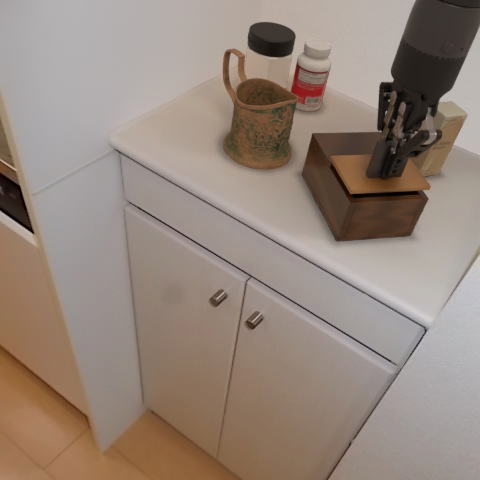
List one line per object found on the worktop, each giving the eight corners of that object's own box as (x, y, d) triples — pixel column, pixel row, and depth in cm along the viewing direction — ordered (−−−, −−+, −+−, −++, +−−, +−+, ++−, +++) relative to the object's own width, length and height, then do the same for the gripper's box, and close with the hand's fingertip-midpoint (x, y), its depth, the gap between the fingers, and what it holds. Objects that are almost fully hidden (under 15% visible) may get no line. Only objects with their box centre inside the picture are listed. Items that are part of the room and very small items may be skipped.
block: (371, 206, 80) (380, 184, 77) (382, 223, 77) (391, 201, 74) (347, 207, 79) (355, 185, 76) (357, 225, 76) (366, 203, 73)
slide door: (404, 156, 77) (419, 121, 73) (429, 190, 72) (446, 154, 68) (329, 159, 74) (340, 122, 70) (350, 194, 69) (363, 157, 65)
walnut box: (368, 172, 87) (383, 131, 82) (410, 235, 78) (430, 195, 72) (301, 174, 84) (312, 132, 79) (336, 241, 75) (351, 199, 69)
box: (416, 178, 88) (443, 116, 79) (401, 164, 90) (426, 102, 82) (440, 174, 90) (469, 113, 81) (425, 160, 92) (452, 99, 84)
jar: (240, 84, 101) (249, 17, 92) (282, 90, 102) (295, 24, 93) (239, 107, 95) (248, 38, 86) (283, 113, 96) (296, 45, 87)
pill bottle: (299, 92, 102) (312, 32, 94) (326, 104, 100) (342, 44, 92) (282, 103, 98) (294, 42, 90) (310, 116, 97) (325, 55, 88)
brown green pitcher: (246, 108, 96) (256, 39, 87) (305, 159, 87) (323, 89, 78) (192, 119, 91) (196, 48, 82) (248, 175, 82) (260, 102, 73)
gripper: (497, 69, 55) (431, 202, 68) (437, 15, 63) (388, 143, 77) (435, 68, 53) (379, 204, 67) (382, 13, 62) (341, 144, 75)
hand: (384, 171), depth 72 cm, fingers closed
